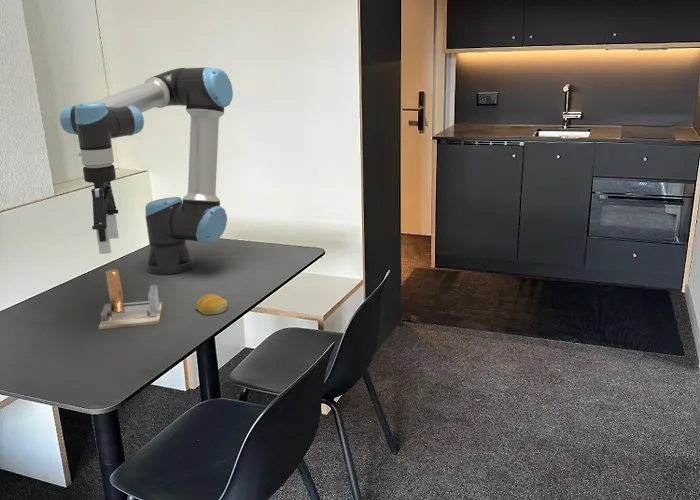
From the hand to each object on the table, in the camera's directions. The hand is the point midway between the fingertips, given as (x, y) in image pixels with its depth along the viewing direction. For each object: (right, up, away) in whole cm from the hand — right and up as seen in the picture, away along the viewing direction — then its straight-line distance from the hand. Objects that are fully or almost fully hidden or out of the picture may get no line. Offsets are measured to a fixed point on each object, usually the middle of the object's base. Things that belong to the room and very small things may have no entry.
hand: (109, 245), depth 168 cm
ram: (+4, -18, +7) cm, 20 cm away
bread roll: (+25, -18, +11) cm, 32 cm away
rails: (+2, -19, +6) cm, 20 cm away
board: (+4, -19, +7) cm, 21 cm away
